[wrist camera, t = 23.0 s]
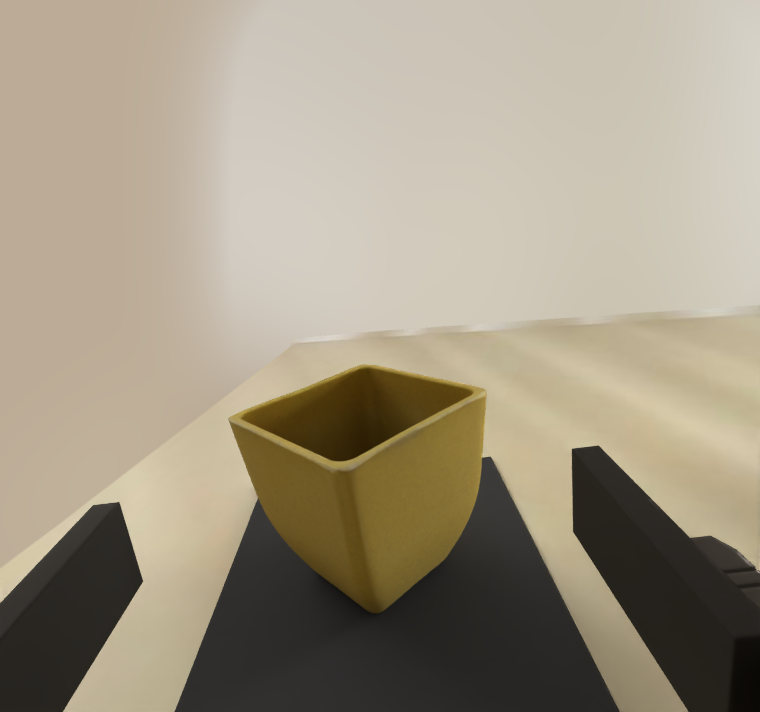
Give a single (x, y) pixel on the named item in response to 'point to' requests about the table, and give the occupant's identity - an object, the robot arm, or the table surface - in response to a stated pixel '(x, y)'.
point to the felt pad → (398, 632)
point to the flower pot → (368, 474)
